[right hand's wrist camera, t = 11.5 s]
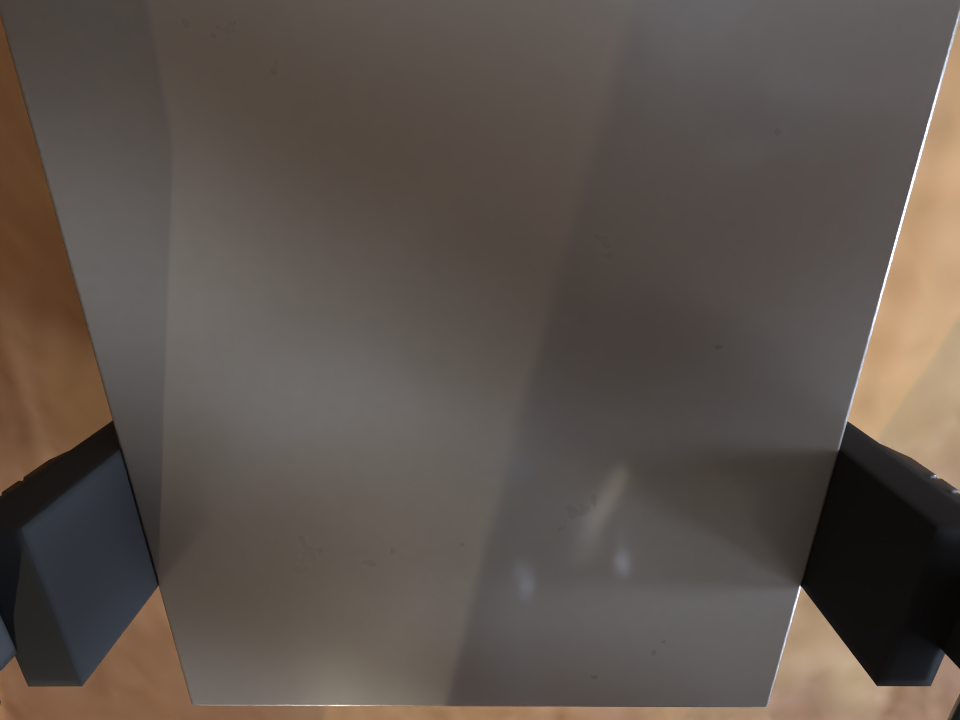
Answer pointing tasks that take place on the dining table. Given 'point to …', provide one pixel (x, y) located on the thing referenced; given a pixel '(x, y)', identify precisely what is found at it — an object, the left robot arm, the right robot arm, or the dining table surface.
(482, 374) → the cabinet
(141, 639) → the dining table surface
